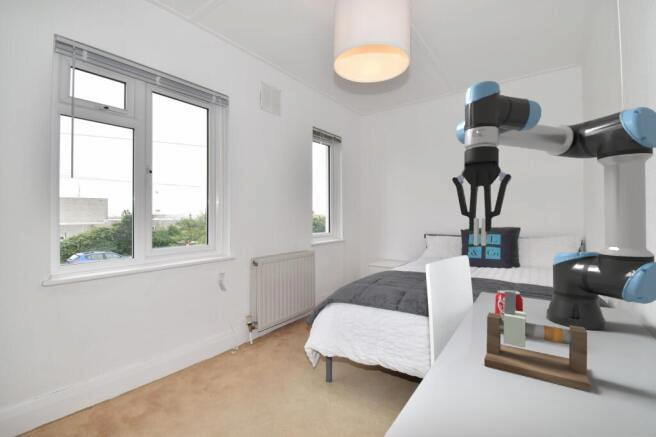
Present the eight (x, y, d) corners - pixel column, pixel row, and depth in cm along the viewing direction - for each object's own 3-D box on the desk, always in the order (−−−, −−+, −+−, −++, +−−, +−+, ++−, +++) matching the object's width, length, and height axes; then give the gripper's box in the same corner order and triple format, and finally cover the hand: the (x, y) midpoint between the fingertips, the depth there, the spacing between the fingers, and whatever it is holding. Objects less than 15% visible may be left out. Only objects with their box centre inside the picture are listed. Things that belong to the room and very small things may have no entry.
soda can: (526, 338, 86) (527, 295, 86) (499, 335, 87) (499, 293, 88) (516, 329, 93) (517, 289, 93) (491, 327, 94) (491, 288, 94)
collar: (505, 335, 74) (506, 288, 74) (525, 338, 72) (526, 290, 72) (503, 343, 69) (504, 293, 69) (524, 347, 67) (525, 295, 67)
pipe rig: (490, 348, 78) (491, 308, 79) (581, 367, 68) (581, 322, 69) (484, 365, 68) (484, 320, 69) (589, 391, 58) (590, 339, 59)
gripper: (447, 148, 76) (446, 244, 76) (513, 141, 68) (512, 247, 68) (454, 154, 82) (452, 242, 82) (515, 148, 74) (514, 246, 74)
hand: (479, 245), depth 75 cm, fingers closed
